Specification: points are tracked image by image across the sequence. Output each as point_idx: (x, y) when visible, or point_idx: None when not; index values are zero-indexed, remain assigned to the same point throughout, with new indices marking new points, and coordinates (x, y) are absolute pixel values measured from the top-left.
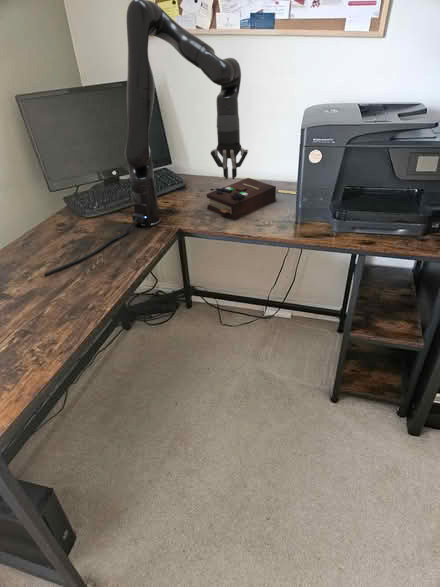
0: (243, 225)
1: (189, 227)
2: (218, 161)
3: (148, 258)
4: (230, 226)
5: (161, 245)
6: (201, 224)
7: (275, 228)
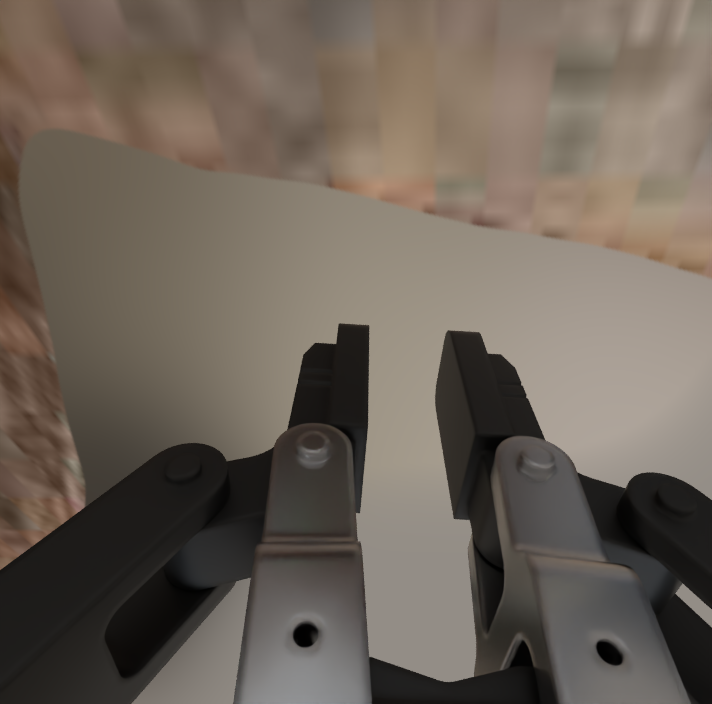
0: (461, 70)
1: (81, 111)
2: (159, 656)
3: (51, 427)
4: (367, 90)
5: (39, 332)
6: (146, 56)
7: (683, 119)
